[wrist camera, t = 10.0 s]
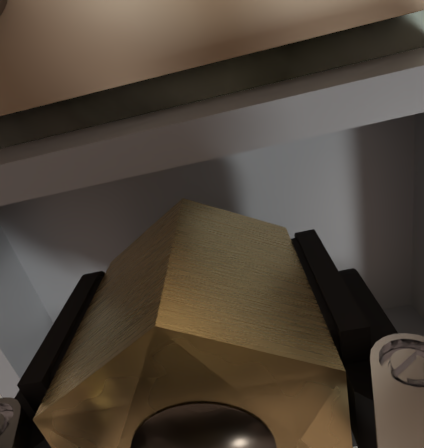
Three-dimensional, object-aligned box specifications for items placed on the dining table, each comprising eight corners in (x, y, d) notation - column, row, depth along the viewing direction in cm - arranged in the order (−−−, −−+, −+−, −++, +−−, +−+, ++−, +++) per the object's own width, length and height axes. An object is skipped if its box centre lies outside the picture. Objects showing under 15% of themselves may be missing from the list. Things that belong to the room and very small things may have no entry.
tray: (437, 43, 11) (532, 39, 7) (426, 306, 15) (484, 375, 12) (-47, 159, 12) (-139, 197, 9) (68, 366, 16) (33, 440, 13)
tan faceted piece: (278, 177, 9) (339, 296, 5) (303, 345, 12) (360, 527, 7) (92, 217, 10) (-13, 357, 5) (154, 369, 12) (120, 554, 8)
